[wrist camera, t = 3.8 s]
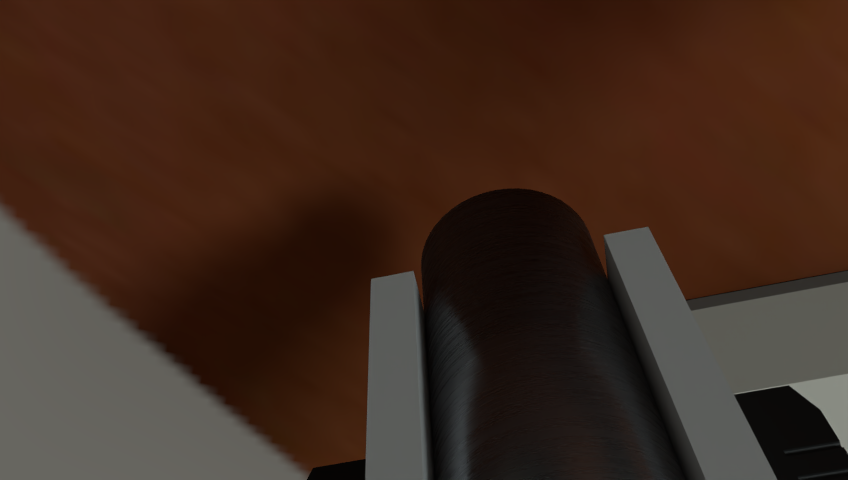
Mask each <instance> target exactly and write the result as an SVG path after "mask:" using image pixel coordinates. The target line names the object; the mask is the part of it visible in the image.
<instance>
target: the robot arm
mask: <svg viewBox="0 0 848 480" xmlns="http://www.w3.org/2000/svg"><path fill="white" fill-rule="evenodd" d="M604 243H605V254H606V266H607V277H608V282H609V284H610V287H611V289H612V292H613V294H614V297H615V300H616V302H617V305H618V307H619V310H620V312H621V315H622V317H623V320H624V323H625V325H626V328H627V330H628V333H629V335H630V338H631V340H632V343H633V345H634V348H635V351H636V353H637V356H638V358H639V361H640V363H641V366H642V368H643V371H644V374H645V376H646V379H647V381H648V384H649V386H650V389H651V391H652V394H653V396H654V399H655V402H656V404H657V407H658V409H659V412H660V414H661V417H662V419H663V422H664V425H665V427H666V430H667V432H668V435H669V437H670V440H671V442H672V445H673V448H674V450H675V453H676V455H677V458H678V460H679V463H680V465H681V468H682V470H683V473H684V476H685V478H686V480H848V453H847V451H846V450H845V448H844V447H841V444H840V440H839V439H838V437H837V435H836V434H835V432H834V431H833V429H832V427H831V426H830V424H829V423H828V421H827V419H826V418H825V416H824V415H823V413H822V411H821V410H820V409H819V408H818V407H816V406H815V405H814V404H812V403H811V402H810V401H808V400H807V399H806V398H805V397H803V396H802V395H801V394H799V393H798V392H797V391H795V390H794V389H793V388H792V387H790V386H789V385H787V386H781V387H775V388H770V389H764V390H758V391H752V392H746V393H740V394H733V392H732V390H731V388H730V386H729V384H728V382H727V380H726V378H725V376H724V374H723V372H722V371H721V369H720V367H719V365H718V363H717V361H716V359H715V357H714V355H713V353H712V351H711V349H710V347H709V345H708V343H707V341H706V339H705V337H704V335H703V333H702V331H701V329H700V327H699V326H698V324H697V322H696V320H695V318H694V316H693V314H692V312H691V310H690V308H689V306H688V304H687V302H686V300H685V298H684V296H683V294H682V292H681V290H680V288H679V286H678V284H677V282H676V281H675V279H674V277H673V275H672V273H671V271H670V269H669V267H668V265H667V263H666V261H665V259H664V257H663V255H662V253H661V251H660V249H659V247H658V245H657V243H656V241H655V239H654V237H653V236H652V234H651V232H650V230H649V228H648V227H644V228H639V229H634V230H628V231H623V232H618V233H613V234H607V235H604ZM307 480H435V476H434V460H433V444H432V428H431V411H430V395H429V379H428V363H427V347H426V331H425V314H424V310H423V306H422V302H421V298H420V295H419V291H418V287H417V283H416V279H415V276H414V272H413V271H411V272H406V273H400V274H395V275H390V276H384V277H379V278H374V279H371V300H370V334H369V368H368V402H367V436H366V459H363V460H357V461H351V462H345V463H339V464H334V465H328V466H322V467H316V468H313V469H312V471H311V473H310V475H309V477H308V479H307Z"/></svg>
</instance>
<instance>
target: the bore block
mask: <svg viewBox="0 0 848 480" xmlns="http://www.w3.org/2000/svg"><path fill="white" fill-rule="evenodd" d="M686 302H687V304H688V306H689V308H690V310H691V312H692V314H693V316H694V318H695V320H696V322H697V324H698V326H699V327H700V329H701V331H702V333H703V335H704V337H705V339H706V341H707V343H708V345H709V347H710V349H711V351H712V353H713V355H714V357H715V359H716V361H717V363H718V365H719V367H720V369H721V371H722V372H723V374H724V376H725V378H726V380H727V382H728V384H729V386H730V388H731V390H732V392H733V394H740V393H746V392H752V391H758V390H764V389H770V388H775V387H781V386H787V385H789V386H790V387H792V388H793V389H794V390H795V391H797V392H798V393H799V394H801V395H802V396H803V397H805V398H806V399H807V400H808V401H810V402H811V403H812V404H814V405H815V406H816V407H818V408H819V409H820V410H821V411H822V413H823V415H824V416H825V418H826V419H827V421H828V423H829V424H830V426H831V427H832V429H833V431H834V432H835V434H836V435H837V437H838V439H839V440H840V444H841V447H844V448H845V450H846V451H847V453H848V271H843V272H838V273H833V274H827V275H822V276H816V277H811V278H806V279H800V280H795V281H789V282H784V283H778V284H773V285H768V286H762V287H757V288H751V289H746V290H741V291H735V292H730V293H724V294H719V295H714V296H708V297H703V298H697V299H692V300H687V301H686Z"/></svg>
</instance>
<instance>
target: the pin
mask: <svg viewBox="0 0 848 480" xmlns="http://www.w3.org/2000/svg"><path fill="white" fill-rule="evenodd" d="M421 273H422V289H423V305H424V314H425V331H426V347H427V363H428V379H429V395H430V411H431V428H432V444H433V460H434V476H435V480H686V478H685V476H684V473H683V470H682V468H681V465H680V463H679V460H678V458H677V455H676V453H675V450H674V448H673V445H672V442H671V440H670V437H669V435H668V432H667V430H666V427H665V425H664V422H663V419H662V417H661V414H660V412H659V409H658V407H657V404H656V402H655V399H654V396H653V394H652V391H651V389H650V386H649V384H648V381H647V379H646V376H645V374H644V371H643V368H642V366H641V363H640V361H639V358H638V356H637V353H636V351H635V348H634V345H633V343H632V340H631V338H630V335H629V333H628V330H627V328H626V325H625V323H624V320H623V317H622V315H621V312H620V310H619V307H618V305H617V302H616V300H615V297H614V294H613V292H612V289H611V287H610V284H609V282H608V279H607V277H606V274H605V272H604V269H603V266H602V264H601V261H600V259H599V256H598V254H597V251H596V249H595V246H594V243H593V241H592V238H591V236H590V233H589V231H588V229H587V227H586V225H585V223H584V221H583V220H582V219H581V217H580V216H579V215H578V214H577V213H576V212H575V211H574V210H573V209H572V208H571V207H570V206H568V205H567V204H566V203H564V202H563V201H561V200H559V199H557V198H555V197H553V196H551V195H548V194H545V193H543V192H539V191H534V190H529V189H519V188H518V189H501V190H494V191H490V192H486V193H482V194H479V195H477V196H474V197H472V198H470V199H468V200H466V201H464V202H462V203H460V204H459V205H457V206H456V207H454V208H453V209H451V210H450V211H449V212H448V213H447V214H445V215H444V216H443V217H442V218H441V219H440V221H439V222H438V223H437V224H436V225H435V227H434V228H433V230H432V231H431V232H430V234H429V236H428V238H427V240H426V243H425V246H424V249H423V253H422V259H421Z"/></svg>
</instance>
